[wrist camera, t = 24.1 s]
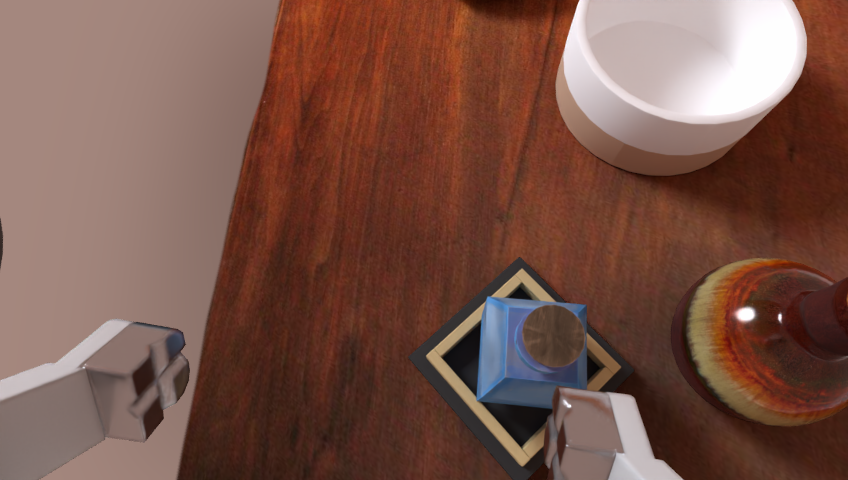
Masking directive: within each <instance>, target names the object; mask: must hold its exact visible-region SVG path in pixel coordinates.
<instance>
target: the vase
mask: <svg viewBox="0 0 848 480" xmlns="http://www.w3.org/2000/svg"><path fill="white" fill-rule="evenodd" d="M671 344H672V350H673V354H674V357H675V360H676V363H677V365H678V367H679V369H680V371H681V373H682V375H683V376H684V378H685V379H686V381H687V382H688V383H689V385H690V386H691V387H692V388H693V389H694V390H695V391H696V392H697V393H698V394H699V395H700V396H701V397H702V398H704V399H705V400H706V401H707V402H709V403H710V404H712V405H713V406H715V407H716V408H718V409H720V410H721V411H723V412H725V413H728V414H730V415H732V416H734V417H736V418H739V419H742V420H745V421H749V422H752V423H756V424H762V425H769V426H800V425H805V424H811V423H815V422H818V421H821V420H824V419H826V418H829V417H831V416H833V415H835V414H837V413H838V412H840V411H841V410H843V409H845V408H846V407H847V406H848V277H847V278H845V279H843V280H841V281H839V282H836V281H835V280H833V279H832V278H831V277H829V276H827V275H825V274H824V273H822V272H820V271H818V270H816V269H814V268H811V267H809V266H806V265H804V264H801V263H797V262H793V261H789V260H784V259H776V258H751V259H745V260H740V261H735V262H732V263H729V264H726V265H723V266H721V267H718V268H716V269H715V270H713V271H711V272H709V273H708V274H706V275H704V276H703V277H702V278H701V279H699V280H698V281H697V282H696V283H695V284H694V285H693V286H692V287H691V288H690V289H689V290H688V291H687V293H686V294H685V295H684V296H683V298H682V300H681V301H680V303H679V305H678V307H677V308H676V311H675V314H674V317H673V321H672V327H671Z"/></svg>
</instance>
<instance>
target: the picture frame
mask: <svg viewBox="0 0 848 480" xmlns="http://www.w3.org/2000/svg"><path fill="white" fill-rule="evenodd" d="M488 296H489V297H501V298H512V299H524V300H535V301H547V302H559V303H566V302H565V301H564V300H563V299H562V298H561V297H560V296H559V295H558V294H557V293H556V292H555V291H554V290H553V289H552V288H551V287H550V286H549V285H548V284H547V283H546V282H545V281H544V280H543V279H542V278H541V277H540V276H539V275H538V274H537V273H536V272H535V271H534V270H533V269H532V268H531V267H530V266H529V265H528V264H527V263H526V262H525V261H524V260H523V259H522V258H520V257H519V258H518V259H517V260H515V261H514V262H513V263H512V264H511V265H510V266H509V267H508V268H507V269H505V270H504V271H503V272H502V273H501V274H500V275H499V276H498V277H497V278H495V279H494V280H493V281H492V282H491V283H490V284H489V285H488V286H487V287H485V288H484V289H483V290H482V291H481V292H480V293H479V294H478V295H477V296H475V297H474V298H473V299H472V300H471V301H470V302H469V303H468V304H467V305H465V306H464V307H463V308H462V309H461V310H460V311H459V312H458V313H457V314H456V315H454V316H453V317H452V318H451V319H450V320H449V321H448V322H447V323H446V324H444V325H443V326H442V327H441V328H440V329H439V330H438V331H437V332H436V333H434V334H433V335H432V336H431V337H430V338H429V339H428V340H427V341H426V342H424V343H423V344H422V345H421V346H420V347H419V348H418V349H417V350H416V351H414V352H413V353H412V354H411V355H410V356H409V357H408V358H409V359H410V360H411V361H412V363H413V364H414V365H415V366H416V367H417V368H418V370H419V371H420V372H421V373H422V374H423V375H424V377H425V378H426V379H427V380H428V381H429V382H430V384H431V385H432V386H433V387H434V388H435V389H436V391H437V392H438V393H439V394H440V395H441V396H442V398H443V399H444V400H445V401H446V402H447V403H448V405H449V406H450V407H451V408H452V409H453V410H454V412H455V413H456V414H457V415H458V416H459V417H460V419H461V420H462V421H463V422H464V423H465V424H466V426H467V427H468V428H469V429H470V430H471V431H472V433H473V434H474V435H475V436H476V437H477V438H478V439H479V441H480V442H481V443H482V444H483V445H484V446H485V448H486V449H487V450H488V451H489V452H490V453H491V455H492V456H493V457H494V458H495V459H496V460H497V462H498V463H499V464H500V465H501V466H502V467H503V469H504V470H505V471H506V472H507V473H508V474H509V476H510V477H511V478H512V479H513V480H527V479H528V478H529V477H530V476H531V475H532V474H533V473H534V472H535V471H536V470H537V469H538V468H539V467H540V466H541V465H542V464H543V463H544V434H545V427H546V422H547V417H548V416H549V415H550V414H552V413H553V409H549V408H540V407H530V406H520V405H510V404H501V403H491V402H481V401H476V400H477V384H478V368H479V352H480V336H481V320H482V313H483V310H484V306H485V303H486V300H487V297H488ZM633 371H634V369H633V368H632V367H631V366H630V365H629V364H628V363H627V362H626V361H625V360H624V359H623V358H622V357H621V356H620V355H619V354H618V353H617V352H616V351H615V350H614V349H613V348H612V347H611V346H610V345H609V344H608V343H607V342H606V341H605V340H603V339H602V338H601V337H600V336H599V335H598V334H597V333H596V332H595V331H594V330H593V329H592V328H591V327H590V326H589V325H588V324H587V390H593V391H600V392H605V393H606V392H612V393H613V392H614V391H615V390H616V389H617V388H618V387H619V386H620V385H621V384H622V383H623V382H624V381H625V380H626V378H627V377H628V376H629V375H630V374H631V373H632V372H633Z"/></svg>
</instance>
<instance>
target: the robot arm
mask: <svg viewBox="0 0 848 480" xmlns="http://www.w3.org/2000/svg"><path fill="white" fill-rule="evenodd" d="M185 345H186V344H185V340H184V335H183V332H181V331H180V330H178V329H174V328H168V327H163V326H157V325H151V324H146V323H140V322H132V321H126V320H120V319H113V320H109V321H107V322H106V323H105V324H103V325H102V326H101V327H100V328H99V329H97V330H96V331H95V332H94V333H92V334H91V335H90V336H89V337H87V338H86V339H85V340H84V341H82V342H81V343H80V344H79V345H78V346H77V347H75V348H74V349H73V350H71V351H70V352H69V353H68V354H66V355H65V356H64V357H63V358H61V359H60V360H59V361H58V362H57V363H55V364H53V363H46V364H43V365H41V366H38V367H35V368H32V369H29V370H27V371H24V372H21V373H18V374H16V375H13V376H10V377H7V378H5V379H2V380H0V480H39V479H41V478H43V477H44V476H46V475H47V474H49V473H51V472H52V471H54V470H56V469H57V468H59V467H60V466H62V465H64V464H66V463H67V462H69V461H70V460H72V459H74V458H75V457H77V456H79V455H80V454H82V453H84V452H85V451H87V450H88V449H90V448H92V447H93V446H95V445H97V444H98V443H100V442H101V441H103V440H105V437H108V438H115V439H122V440H129V441H137V442H145V441H146V440H147V439H148V437H149V436H150V435H151V434H152V432H153V431H154V429H156V427H157V426H158V425H159V424H160V423H161V421H162V420H163V419H164V417H163V410H164V409H166V408H168V407H170V406H172V405H174V404H175V403H177V401H178V400H179V399H180V397H181V396H182V395H183V393H184V391H185V389H186V386H187V383H188V381H189V373H190V368H189V362H188V360H187V359H186V358H185V356H184V355H183V354H182V353H181V350H182V349H183V348H184V346H185ZM552 409H553V413H552V414H550V415H549V416H548V417H547V422H546V427H545V434H544V462H545V464H546V466H547V467H548V468H549V473H548V477H547V480H683V479H682V478H681V477H680V476H679V475H678V474H677V473H676V472H675V471H674V470H673V469H672V468H671V467H669V466H668V465H667V464H666V463H665V462H664V461H663V460H657V459H655V457H654V454H653V451H652V448H651V445H650V442H649V439H648V436H647V433H646V430H645V427H644V424H643V421H642V419H641V416H640V413H639V410H638V407H637V404H636V401H635V398H634V397H633V396H632V395H628V394H620V393H612V392H606V393H605V392H600V391H593V390H586V389H579V388H572V387H565V386H558V385H556V387H555V389H554V392H553V396H552Z"/></svg>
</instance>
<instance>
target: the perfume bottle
mask: <svg viewBox="0 0 848 480" xmlns="http://www.w3.org/2000/svg"><path fill="white" fill-rule="evenodd" d="M556 385H558V386H565V387H572V388H579V389H586V390H587V305H582V304H570V303H559V302H547V301H535V300H524V299H512V298H501V297H489V296H488V297H487V300H486V303H485V306H484V310H483V313H482V320H481V336H480V352H479V368H478V384H477V400H476V401H481V402H491V403H501V404H510V405H520V406H530V407H540V408H549V409H552V396H553V392H554V389H555V387H556Z"/></svg>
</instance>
